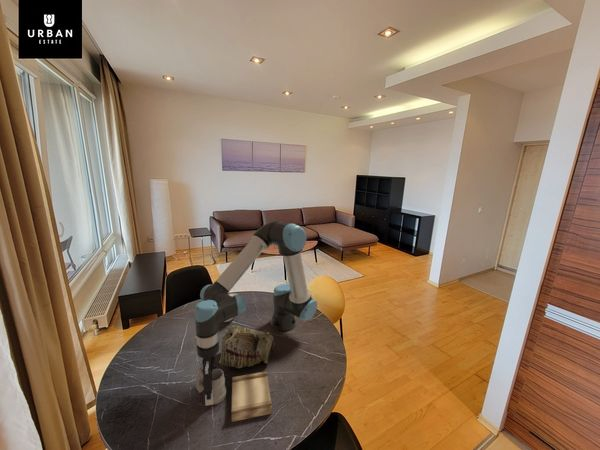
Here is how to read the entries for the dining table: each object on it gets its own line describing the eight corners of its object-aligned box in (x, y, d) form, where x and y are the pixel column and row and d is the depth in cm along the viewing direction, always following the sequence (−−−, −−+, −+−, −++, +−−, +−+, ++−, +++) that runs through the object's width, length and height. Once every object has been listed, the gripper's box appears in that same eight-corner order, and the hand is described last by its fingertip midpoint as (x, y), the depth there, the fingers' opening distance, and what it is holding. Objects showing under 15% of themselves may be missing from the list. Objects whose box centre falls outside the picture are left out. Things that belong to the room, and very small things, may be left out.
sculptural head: (277, 321, 124) (228, 313, 124) (273, 341, 102) (214, 332, 102) (272, 354, 124) (223, 347, 124) (267, 381, 103) (208, 373, 103)
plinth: (266, 378, 104) (266, 370, 103) (271, 413, 89) (271, 404, 88) (232, 384, 101) (232, 376, 100) (231, 422, 86) (231, 412, 85)
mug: (221, 406, 91) (220, 379, 89) (191, 402, 92) (189, 375, 90) (229, 389, 98) (228, 363, 96) (201, 385, 100) (199, 360, 97)
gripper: (200, 327, 99) (203, 375, 103) (191, 364, 79) (196, 422, 84) (220, 324, 101) (222, 372, 105) (216, 360, 81) (219, 417, 86)
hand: (210, 394), depth 94 cm, fingers closed on mug, 8 cm apart
